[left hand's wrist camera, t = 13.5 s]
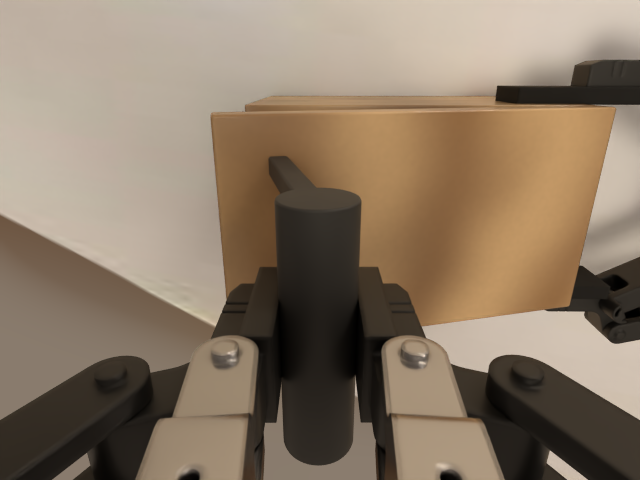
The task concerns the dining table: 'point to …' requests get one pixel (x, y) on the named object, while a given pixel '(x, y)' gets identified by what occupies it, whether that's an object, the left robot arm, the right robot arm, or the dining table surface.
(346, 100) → the chest
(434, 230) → the lid
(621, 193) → the dining table surface
